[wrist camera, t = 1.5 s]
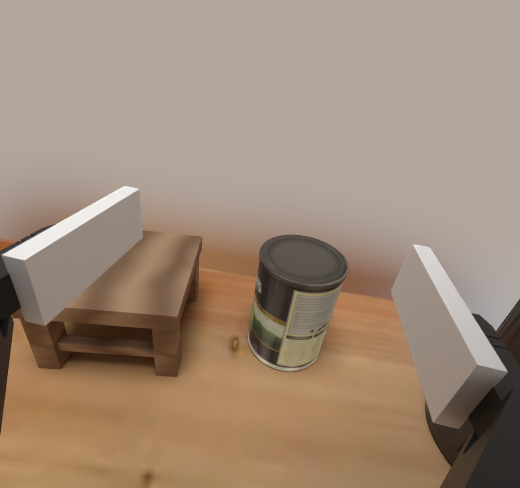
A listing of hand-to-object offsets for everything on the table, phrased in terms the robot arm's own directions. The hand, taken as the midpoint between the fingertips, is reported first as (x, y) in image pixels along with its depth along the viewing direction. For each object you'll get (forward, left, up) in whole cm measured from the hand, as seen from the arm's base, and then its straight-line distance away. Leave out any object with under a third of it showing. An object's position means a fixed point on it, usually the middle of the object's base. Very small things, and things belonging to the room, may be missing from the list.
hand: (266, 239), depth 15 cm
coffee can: (-6, -16, -25) cm, 31 cm away
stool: (+15, -17, -25) cm, 34 cm away
